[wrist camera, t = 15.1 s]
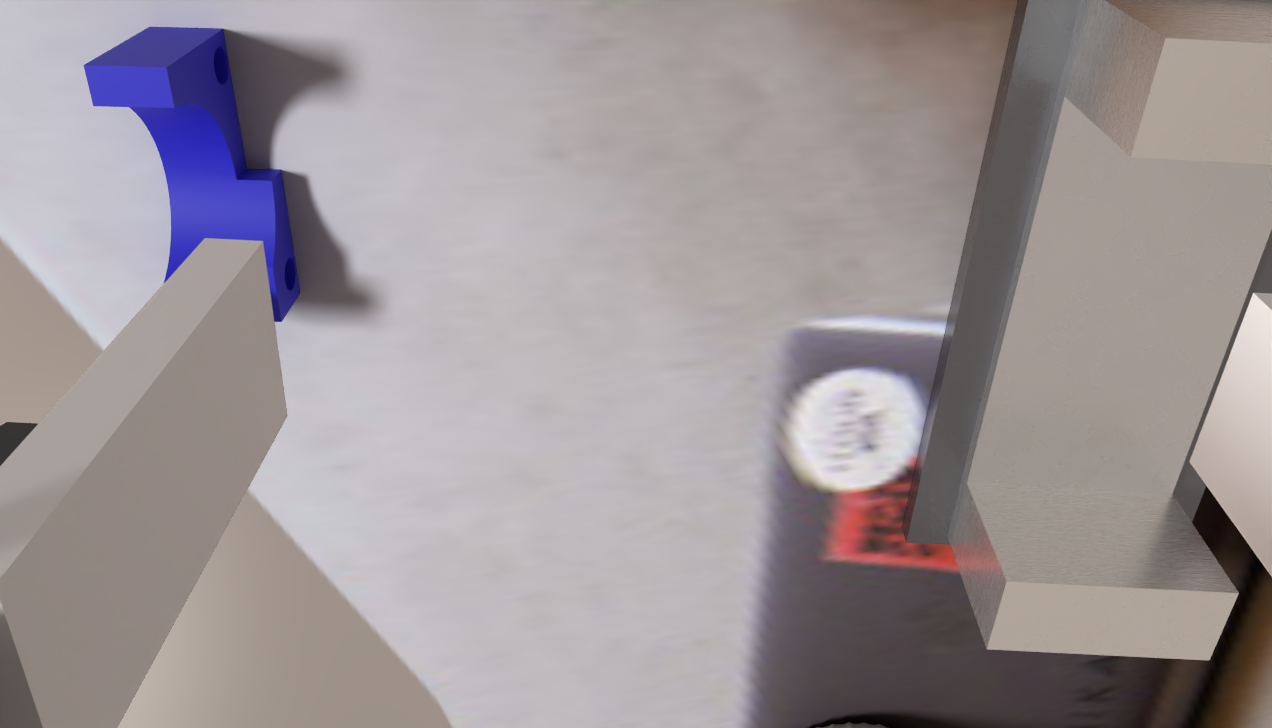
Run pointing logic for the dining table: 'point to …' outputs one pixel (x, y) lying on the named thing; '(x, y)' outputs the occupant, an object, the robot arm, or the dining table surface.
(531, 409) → the dining table surface
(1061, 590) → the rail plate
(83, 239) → the dining table surface
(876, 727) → the canister
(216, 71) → the cable clip
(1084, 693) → the dining table surface
